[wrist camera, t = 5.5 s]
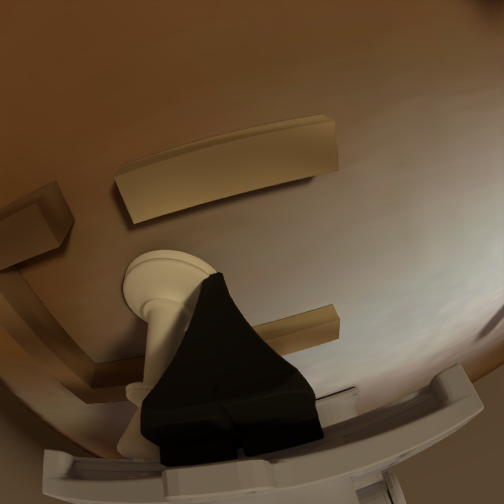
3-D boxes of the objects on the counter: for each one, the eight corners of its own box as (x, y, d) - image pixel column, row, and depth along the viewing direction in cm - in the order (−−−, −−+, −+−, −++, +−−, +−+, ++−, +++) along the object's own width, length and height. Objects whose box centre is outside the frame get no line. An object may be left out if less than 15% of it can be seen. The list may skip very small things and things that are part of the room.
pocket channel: (332, 324, 19) (339, 338, 18) (211, 356, 18) (213, 372, 17) (322, 114, 11) (334, 121, 10) (121, 166, 10) (114, 177, 9)
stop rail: (171, 369, 19) (172, 394, 17) (89, 381, 18) (86, 403, 17) (55, 180, 10) (35, 202, 8) (-34, 230, 10) (-52, 253, 8)
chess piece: (227, 252, 13) (217, 518, 5) (223, 324, 16) (218, 517, 8) (116, 245, 12) (36, 476, 4) (134, 317, 15) (97, 496, 8)
